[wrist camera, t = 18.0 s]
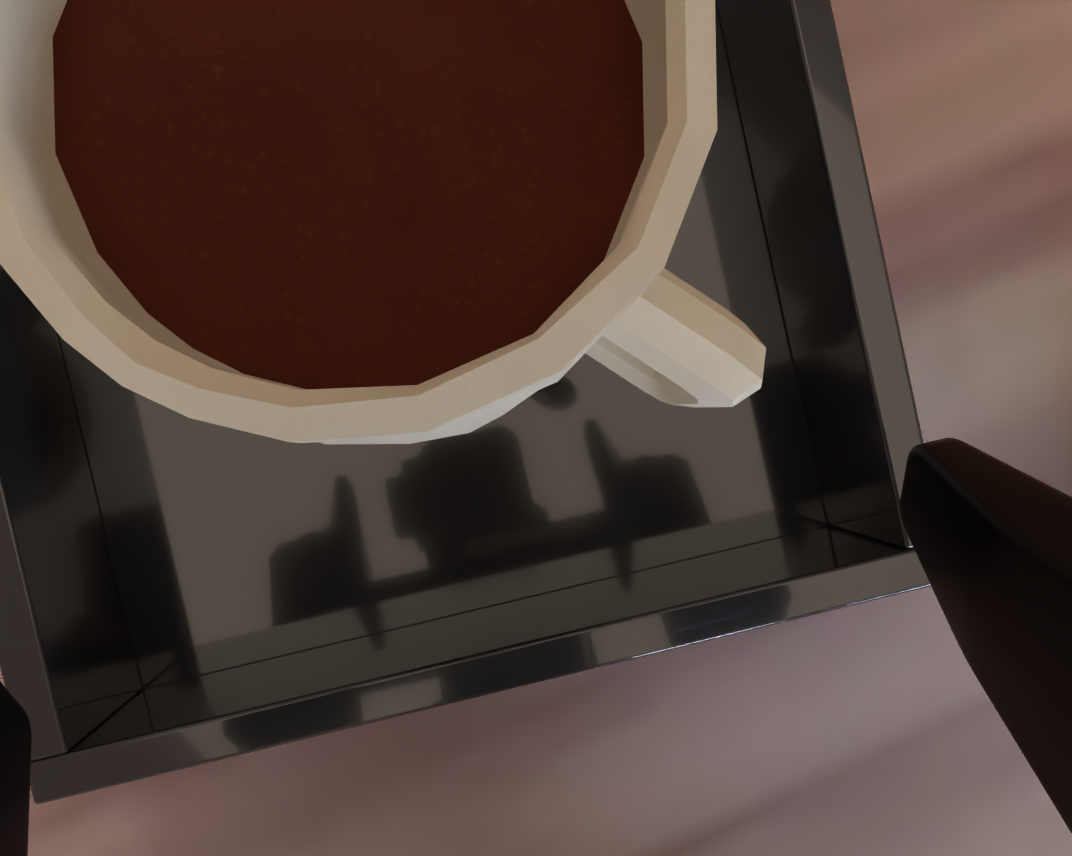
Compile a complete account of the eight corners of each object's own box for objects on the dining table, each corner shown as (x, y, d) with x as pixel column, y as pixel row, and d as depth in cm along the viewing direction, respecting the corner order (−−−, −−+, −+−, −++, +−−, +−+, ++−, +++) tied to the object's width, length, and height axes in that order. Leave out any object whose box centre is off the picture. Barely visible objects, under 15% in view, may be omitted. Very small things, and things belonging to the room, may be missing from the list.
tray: (853, 546, 23) (954, 581, 18) (128, 720, 22) (33, 807, 17) (699, -175, 22) (762, -333, 18) (-54, -36, 21) (-205, -166, 17)
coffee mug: (118, 268, 21) (-449, 38, 8) (294, 0, 21) (19, -655, 8) (534, 530, 22) (633, 709, 9) (700, 269, 22) (1040, 63, 9)
